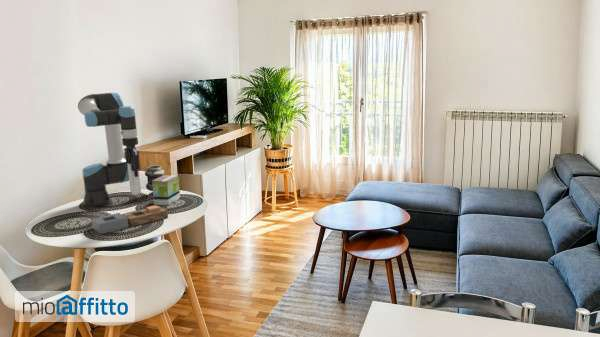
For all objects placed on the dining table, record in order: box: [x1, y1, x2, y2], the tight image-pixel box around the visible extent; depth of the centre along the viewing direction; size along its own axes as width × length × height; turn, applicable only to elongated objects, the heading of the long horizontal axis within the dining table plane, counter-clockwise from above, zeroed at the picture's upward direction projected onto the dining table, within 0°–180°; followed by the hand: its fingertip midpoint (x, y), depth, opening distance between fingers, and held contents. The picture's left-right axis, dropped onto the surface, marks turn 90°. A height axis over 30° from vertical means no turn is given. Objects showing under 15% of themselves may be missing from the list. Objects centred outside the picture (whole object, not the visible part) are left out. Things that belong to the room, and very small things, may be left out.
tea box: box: [152, 174, 181, 206], centre depth 286 cm, size 15×10×15 cm, turn 168°
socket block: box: [122, 205, 169, 227], centre depth 256 cm, size 12×20×4 cm, turn 130°
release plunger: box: [145, 204, 159, 213], centre depth 258 cm, size 5×5×5 cm
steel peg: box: [127, 163, 142, 195], centre depth 249 cm, size 4×4×16 cm
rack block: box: [91, 212, 129, 235], centre depth 244 cm, size 12×14×5 cm
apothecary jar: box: [144, 164, 165, 197], centre depth 302 cm, size 12×12×18 cm
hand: (134, 181), depth 249 cm, fingers closed on steel peg, 4 cm apart
